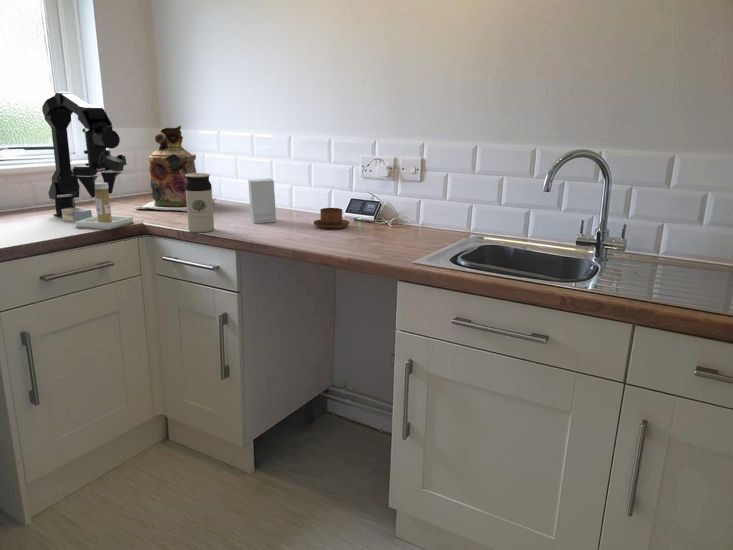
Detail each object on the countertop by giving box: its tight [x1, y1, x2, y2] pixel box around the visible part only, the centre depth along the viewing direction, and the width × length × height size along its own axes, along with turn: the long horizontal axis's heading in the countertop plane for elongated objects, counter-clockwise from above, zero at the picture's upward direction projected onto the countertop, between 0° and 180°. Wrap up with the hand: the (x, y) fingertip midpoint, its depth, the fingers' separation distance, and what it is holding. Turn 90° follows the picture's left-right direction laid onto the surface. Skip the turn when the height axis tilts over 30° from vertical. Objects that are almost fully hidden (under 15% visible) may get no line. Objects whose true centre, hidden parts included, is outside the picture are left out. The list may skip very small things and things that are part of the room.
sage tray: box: [74, 215, 134, 230], centre depth 190 cm, size 13×13×2 cm
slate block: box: [73, 208, 93, 223], centre depth 195 cm, size 4×4×4 cm
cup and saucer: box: [313, 207, 350, 230], centre depth 190 cm, size 12×12×6 cm
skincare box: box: [247, 177, 277, 225], centre depth 197 cm, size 8×6×15 cm
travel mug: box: [185, 172, 215, 233], centre depth 181 cm, size 8×8×18 cm
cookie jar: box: [134, 124, 217, 212], centre depth 225 cm, size 25×25×32 cm
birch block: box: [61, 207, 80, 222], centre depth 198 cm, size 4×4×4 cm
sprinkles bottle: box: [94, 181, 112, 223], centre depth 188 cm, size 5×5×14 cm
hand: (101, 195), depth 187 cm, fingers open, 9 cm apart
